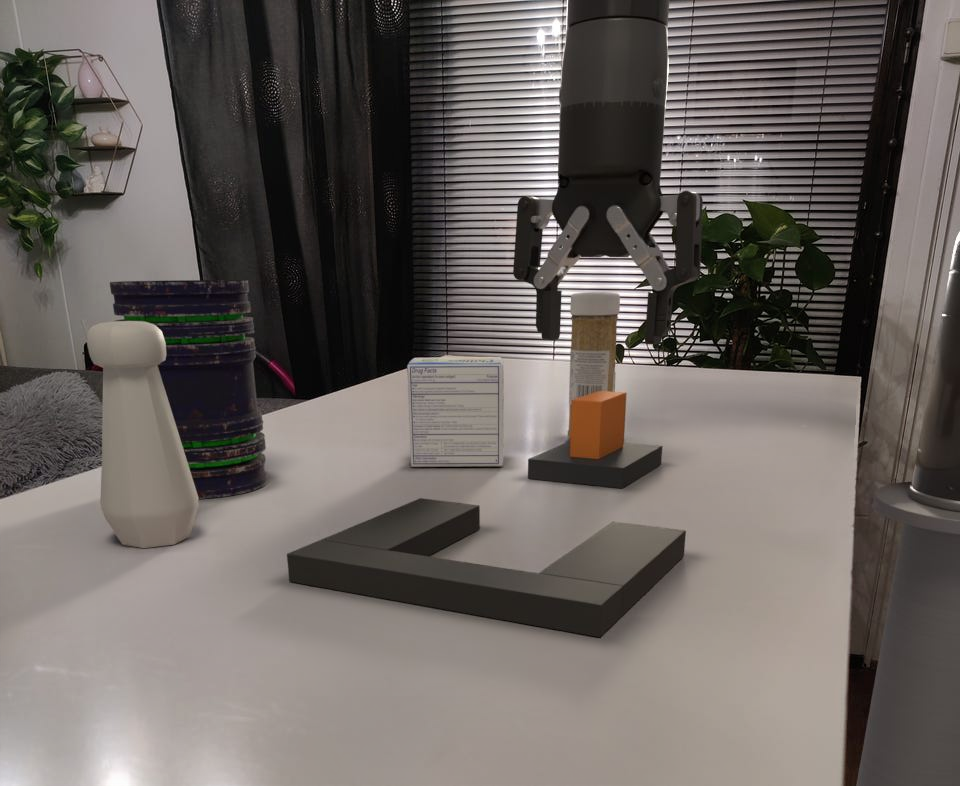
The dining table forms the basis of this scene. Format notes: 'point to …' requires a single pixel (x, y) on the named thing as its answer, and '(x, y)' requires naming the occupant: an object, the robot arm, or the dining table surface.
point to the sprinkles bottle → (592, 344)
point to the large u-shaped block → (489, 568)
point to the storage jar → (206, 376)
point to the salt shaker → (140, 439)
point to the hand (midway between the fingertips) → (600, 341)
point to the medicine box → (456, 411)
